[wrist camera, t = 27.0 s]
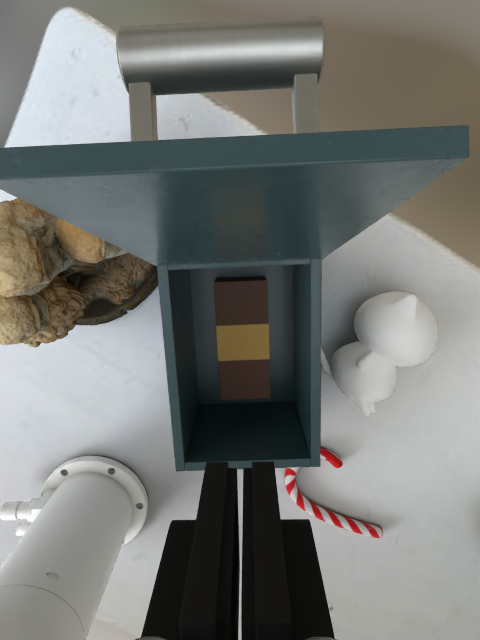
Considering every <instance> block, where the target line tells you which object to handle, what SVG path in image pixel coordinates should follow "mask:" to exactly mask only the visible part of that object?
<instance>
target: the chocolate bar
mask: <svg viewBox="0 0 480 640" xmlns="http://www.w3.org/2000/svg"><path fill="white" fill-rule="evenodd" d="M214 294H215V310H216V337H217V354H218V361H219V378H220V395H221V400H247V399H270V364H269V359H270V344H269V322H268V290H267V279H266V277H265V276H241V277H217V278H216V280H215V281H214Z"/></svg>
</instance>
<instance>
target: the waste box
mask: <svg viewBox="0 0 480 640" xmlns="http://www.w3.org/2000/svg"><path fill="white" fill-rule="evenodd" d="M157 271H158V282H159V293H160V304H161V315H162V326H163V337H164V348H165V359H166V370H167V380H168V391H169V402H170V413H171V424H172V435H173V446H174V457H175V468H176V471H185V470H186V471H197V470H205V466H206V462H228V464H229V468H237V469H244V468H252V462H261V461H274V467H275V468H291V467H310V466H311V467H320V433H321V259H305V260H282V261H258V262H234V263H211V264H187V265H164V266H157ZM241 276H265V277H266V279H267V290H268V322H269V344H270V359H269V364H270V399H247V400H221V395H220V378H219V361H218V354H217V337H216V310H215V294H214V281H215V280H216V278H217V277H241Z"/></svg>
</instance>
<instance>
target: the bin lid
mask: <svg viewBox="0 0 480 640" xmlns="http://www.w3.org/2000/svg"><path fill="white" fill-rule="evenodd" d="M116 46H117V56H118V63H119V68H120V72H121V76H122V80H123V83H124V85H125V88H126V90H127V92H128V93H129V103H130V125H131V142H112V143H92V144H71V145H51V146H30V147H10V148H0V189H1V190H3V191H5V192H7V193H9V194H11V195H13V196H15V197H18V198H20V199H22V200H24V201H26V202H28V203H30V204H32V205H34V206H36V207H38V208H40V209H42V210H44V211H46V212H48V213H50V214H52V215H54V216H56V217H58V218H60V219H62V220H64V221H66V222H68V223H70V224H72V225H74V226H76V227H78V228H80V229H82V230H84V231H86V232H88V233H90V234H92V235H94V236H96V237H98V238H100V239H102V240H104V241H106V242H109V243H111V244H113V245H115V246H117V247H119V248H121V249H123V250H125V251H127V252H129V253H131V254H133V255H135V256H137V257H139V258H141V259H143V260H145V261H147V262H149V263H151V264H153V265H155V266H164V265H187V264H211V263H234V262H258V261H282V260H305V259H323V258H324V257H326V256H327V255H329V254H330V253H332V252H333V251H334V250H336V249H337V248H339V247H340V246H342V245H343V244H345V243H346V242H347V241H349V240H350V239H352V238H353V237H355V236H356V235H358V234H359V233H360V232H362V231H363V230H365V229H366V228H368V227H369V226H370V225H372V224H373V223H375V222H376V221H378V220H379V219H381V218H382V217H383V216H385V215H386V214H388V213H389V212H391V211H392V210H393V209H395V208H396V207H398V206H399V205H401V204H402V203H404V202H405V201H406V200H408V199H409V198H411V197H412V196H414V195H415V194H416V193H418V192H419V191H421V190H422V189H423V188H425V187H427V186H428V185H429V184H431V183H432V182H434V181H435V180H437V179H438V178H439V177H441V176H442V175H444V174H445V173H447V172H448V171H449V170H451V169H452V168H454V167H455V166H457V165H458V164H460V163H461V162H463V161H464V160H465V159H467V158H468V157H469V127H468V126H467V125H462V126H441V127H422V128H400V129H381V130H361V131H338V132H319V110H318V109H319V107H318V85H319V82H320V80H321V76H322V70H323V63H324V51H325V29H324V22H323V19H322V17H321V16H305V17H286V18H268V19H250V20H231V21H213V22H195V23H177V24H159V25H140V26H124V27H123V26H121V27H120V28H118V30H117V37H116ZM288 88H292V109H293V134H278V135H256V136H236V137H215V138H195V139H174V140H158V134H157V111H156V95H170V94H190V93H210V92H227V91H228V92H229V91H249V90H268V89H288Z"/></svg>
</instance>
